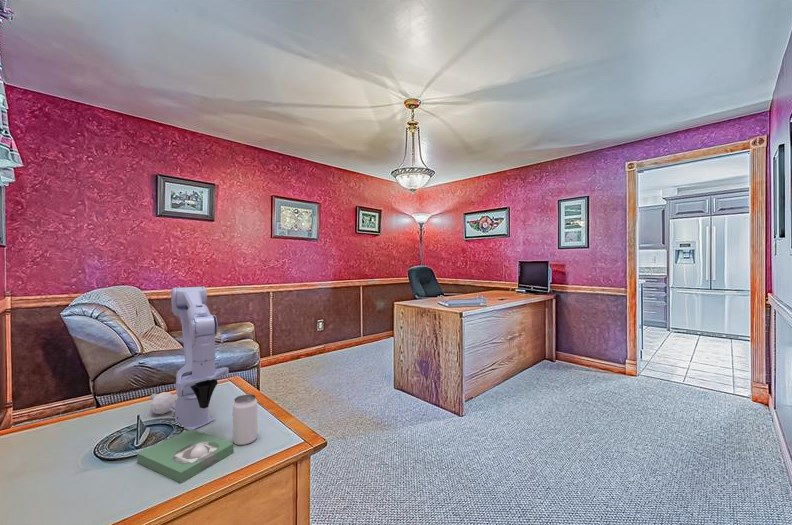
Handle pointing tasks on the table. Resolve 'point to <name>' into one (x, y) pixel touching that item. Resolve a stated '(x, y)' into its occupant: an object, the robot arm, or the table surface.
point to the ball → (198, 452)
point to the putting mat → (184, 455)
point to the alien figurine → (162, 403)
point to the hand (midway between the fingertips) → (204, 407)
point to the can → (245, 419)
